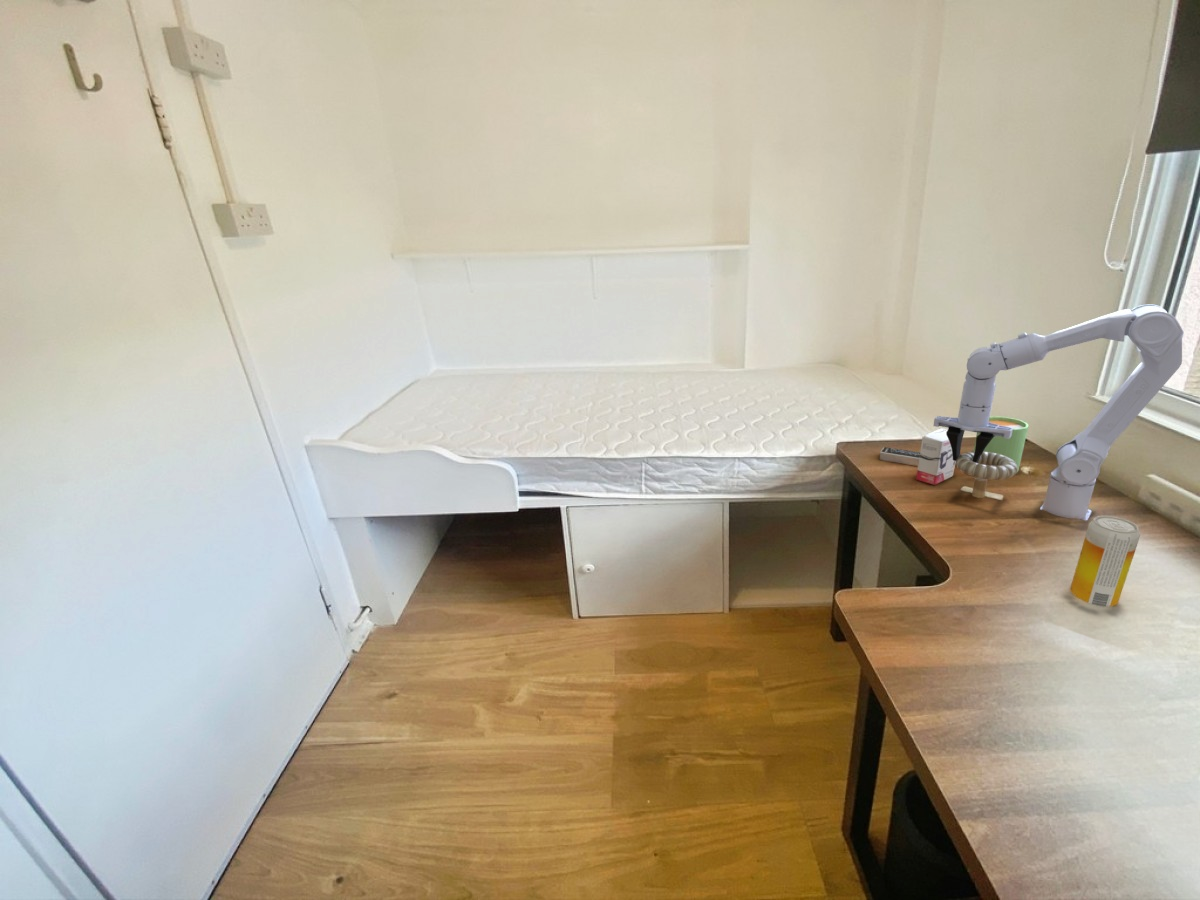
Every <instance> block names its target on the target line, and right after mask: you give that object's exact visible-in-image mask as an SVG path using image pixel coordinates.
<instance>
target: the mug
mask: <svg viewBox="0 0 1200 900" xmlns="http://www.w3.org/2000/svg"><path fill="white" fill-rule="evenodd" d="M989 422H990V423H993V424H997V425H1001V426H1005V427H1010V428H1013V431H1012V436H1011V437H1010V438H1009V439H1006V438H1003V437H1000V436H994V437H993V439H992V440H991V441H990V442H989V444H988V445H987V446H986V448H985V449H984V451H983V452H991V453H996V454H1000V455H1003V456H1006V457H1008V458H1010V459H1012V460H1013V461H1015V463H1016V464H1017V466H1018V471H1017V472H1016V474H1017V473H1019V470H1020V466H1021V463H1022V462H1021V461H1022V457H1023V453H1024V448H1025V443H1026V442H1028V439H1027V436H1028V430H1029V426H1030V425H1029V423H1028V422H1026V421H1025V420H1022V419H1018V418H1013V417H1007V416H990V417H989ZM978 435H980V433H977V432H976V435H975V438H976V437H977V436H978ZM975 447H976V439H975V441H974V446H973V451H972V452H975Z"/></svg>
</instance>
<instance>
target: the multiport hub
mask: <svg viewBox="0 0 1200 900" xmlns="http://www.w3.org/2000/svg"><path fill="white" fill-rule="evenodd" d="M919 457H920V451H912V450H906V449H900V448H894V447H888V446H883V448H881V450H880V453H879V460H880V461H884V462H891V463H895V464H902V465H909V466H915V467H918V464H919Z"/></svg>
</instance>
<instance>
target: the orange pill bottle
mask: <svg viewBox="0 0 1200 900" xmlns="http://www.w3.org/2000/svg"><path fill="white" fill-rule="evenodd" d="M1086 529H1087V530H1086V533H1085V536H1084V540H1083V543H1082V546H1081V550H1080V553H1079V556H1078V561H1077V564H1076V567H1075V571H1074V574H1073V578H1072V581H1071V585H1070V588H1069V590H1070V593H1071V594H1072V595H1073V596H1075V598H1077V599H1079V600H1080V601H1083V602H1085V603H1088V604H1090V605H1094V606H1099V607H1114V606H1117V605H1118V604H1119V601H1120V599H1121V595H1122V593H1123V590H1124V586H1125V584H1126V580H1127V577H1128V574H1129V571H1130V568H1131V565H1132V563H1133V559H1134V556H1135V553H1136V550H1137V547H1138V544H1139V541H1140V538H1141V533H1140V530H1139V529H1140V528H1139V526H1138V525H1137V524H1136V523H1135V522H1133V521H1131V520H1128V519H1126V518H1123V517H1119V516H1113V515H1097V516H1095V517H1094V518H1093V520H1091V521H1090V522H1089V523H1088V526H1087V528H1086Z"/></svg>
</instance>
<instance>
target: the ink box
mask: <svg viewBox="0 0 1200 900" xmlns="http://www.w3.org/2000/svg"><path fill="white" fill-rule="evenodd" d="M947 431H948V429H945V428H938V429H936V430H933V431H931V432H929V433H926V434H924V435H923V436H922V438H921V444H920V450H919V452H920V457H919V464H918V466H917V471H916V478H915V479H916V481H920V482H924V483H927V484H928V485H929V484H930V485H933V486H936V485H938V484H939V483H941V482H944V481H946V480H948V479H950V478H951V477H952V478H953V476H954V473H955V466H956V461H954V460H953V454H952V448H951V444H950V442H949V439H948V437H947V435H946V432H947Z"/></svg>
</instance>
